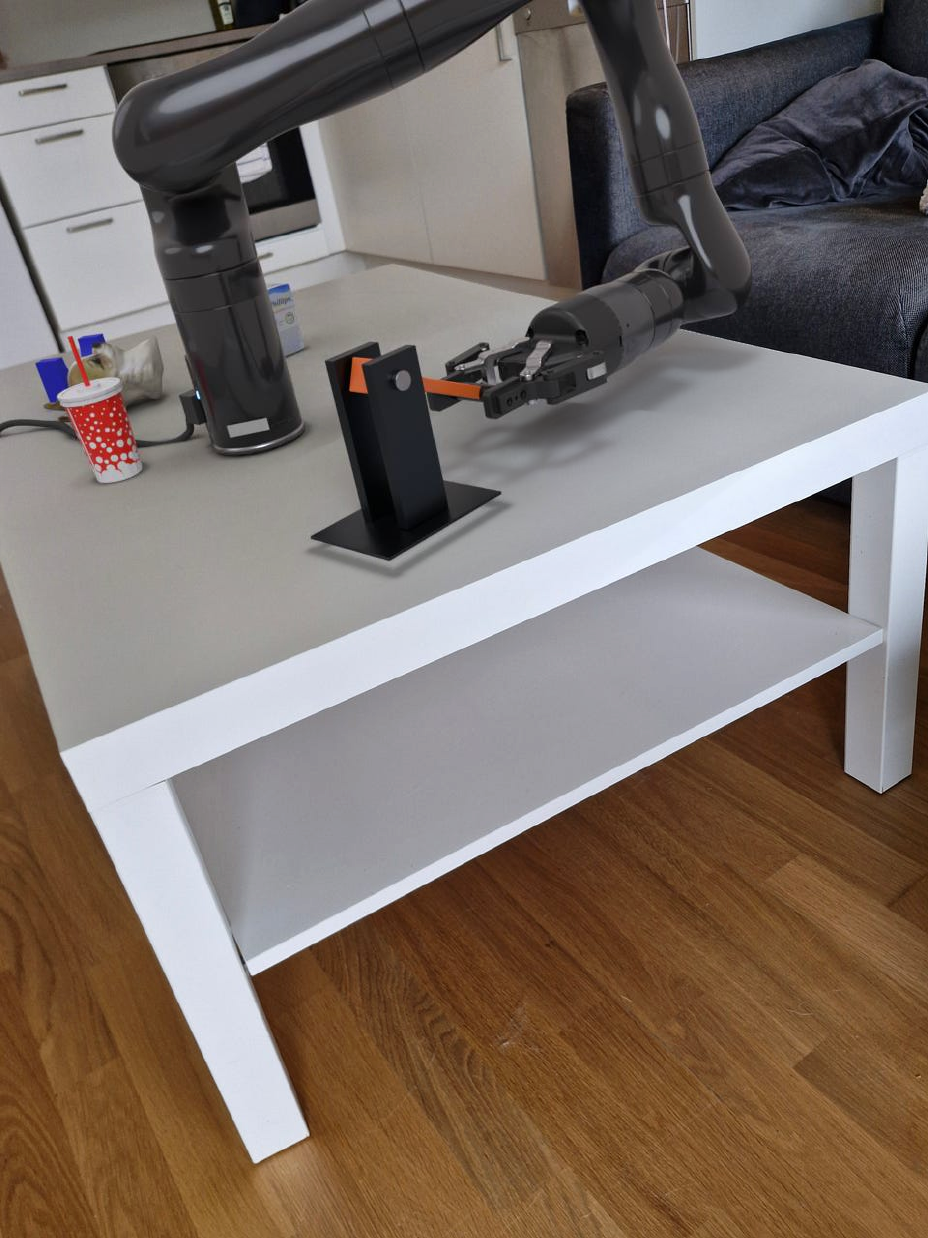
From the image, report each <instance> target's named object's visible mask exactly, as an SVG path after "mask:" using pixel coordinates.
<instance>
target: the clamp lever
mask: <svg viewBox="0 0 928 1238" xmlns="http://www.w3.org/2000/svg"><path fill="white" fill-rule="evenodd" d="M370 360H372V359H368V358H357V357H353V359H352V369H351V379H350V389H349V391H350V392H357V393H365V394H368V392H367V387H366V383H365V379H364V374H363V370H362V366H361V365H362V364H363V363H366V362H368V361H370ZM422 380H423V385H424V389H425V393H426V392H430V393H437V394H444V395H451V397H452V398H453V399H457V400H462V401H467V402H474V403H481V404H483V399H482V396H483V393H484V391H486V390H488V389H490V388H492V387H494V386H496V385H490V384H480V383H481V382H480V383H479V382H476V383H471V382H461V381H455V382H450V381H443V380H439V379H437V378H429V377H424V376H422Z"/></svg>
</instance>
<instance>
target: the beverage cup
mask: <svg viewBox="0 0 928 1238" xmlns="http://www.w3.org/2000/svg"><path fill="white" fill-rule="evenodd" d="M67 340H68V343H69V346H70V349H71V352H72V354H73V356H74V359H75V361H76V362H77V365H78V368H79V370H80V373H81V376H82V378H83V381H84V383H81V384H78V385H75V386H72V387H70V388H68V389H65V390H63V391H62V392H61V393H59V394H58V396H57V399H58V400H59V401H60V405H61V406H63V407H64V408H65V410H66V411H65V413H66V412H67V415H68V417H69V419H70V421H71V422H70V423H71V425H72V429H74V430H75V432H76V434H77V437H78V438H77V440H78V441H79V443H80V445H81V447H82V449H83V452H84V455H85V457H86V458H87V459H86V460H87V461H88V464H89V466H90V467H91V470H92V472H93V475H94V477H95V478H96V481H97V482H99V483H100V484H111V483H118V482H121V481H125V480H127V479H130V478H133V477H134V476H136V475H137V474H139V473H140V472H142V471H143V467H144V466H143V463H142V460H141V456H140V453H139V449H138V447H137V445H136V442H135V440H136V439H135V436H134V431H133V428H132V425H131V421H130V418H129V414H128V410H127V407H125V403H124V400H123V396H122V393H121V390H122V385H121V380H120V379H118V378H101V379H96V380H91V381H89V380H88V377H87V375H86V372H85V369H84V366H83V364H82V361H81V354H80V353H79V350H78V348H77V345H76V341H75V339H74V336H73V335H69V336H67Z"/></svg>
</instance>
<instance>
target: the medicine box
mask: <svg viewBox="0 0 928 1238" xmlns="http://www.w3.org/2000/svg"><path fill="white" fill-rule="evenodd" d="M265 284H266V287H267V291H268V294H269V298H270V302H271V306H272V309H273V313H274V317H275V320H276V324H277V328H278V332H279V335H280V339H281V343H282V347H283V350H284V354H285V358H286V357H289V356H291V355H293V354H296V353H297V352H300V351H302V350H304V349H305V348H306V347H305V342H304V338H303V335H302V329H301V326H300V322H299V318H298V315H297V311H296V306H295V303H294V298H293V295H292V290H291V287H290V284H289V283H265Z"/></svg>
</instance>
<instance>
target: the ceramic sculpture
mask: <svg viewBox="0 0 928 1238" xmlns="http://www.w3.org/2000/svg"><path fill="white" fill-rule="evenodd" d="M105 342H106V341H105ZM105 342H101V343H100V342H94V343H92V355H88V356H85V357H82V358H81V357H80V358H81V361H82V364H83V366H84V369H85V372H86V375H87V377H88V380H89V381H91V380H96V379H101V378H118V379H120V380H121V385H122V390H121V393H122V396H123V400H124V403H125V407H126V408H127V407H128V406H129V405H130V404H132V403H133V402H135V401H137V400H140V399H148V400H154V401H155V400H159V399H160V398H161V396H162V394H163V374H164V369H165V367H164V362H163V358H162V354H161V349H160V347H159V342H158V339H157V336H156V335H153V334H152V335H150V336H149V337H148V339H147V338H146V339H145V340H144V341H142V342H139V344H138V345H136V346H135V347H134V348H131V349H122V348H120V347H118V346H117V344H114V343H111V342H109V343H107V342H106V343H105ZM68 370H69V371H68V374H67V384H68V387H69V388H70V387H72V386H75V385H78V384H81V383H84V381H83V378H82V376H81V373H80V370H79V368H78V365H77V362H76V360H74V361H73V363H72V364H71V366H70V367H69V368H68ZM42 406H43V408H44V409H46V410H51V411H58V412H65V413H64V414H63V415H61V416H59V417H57V419H56V421H58V422H63V423H66V424H67V423H71V421H70V419H69V417H68V415H67V412H66V410H65V408H64V407H63V406H61V405H60V401H59V400H57V401H56V402H55V403H50V402H46V403H44V404H43V405H42Z"/></svg>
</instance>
